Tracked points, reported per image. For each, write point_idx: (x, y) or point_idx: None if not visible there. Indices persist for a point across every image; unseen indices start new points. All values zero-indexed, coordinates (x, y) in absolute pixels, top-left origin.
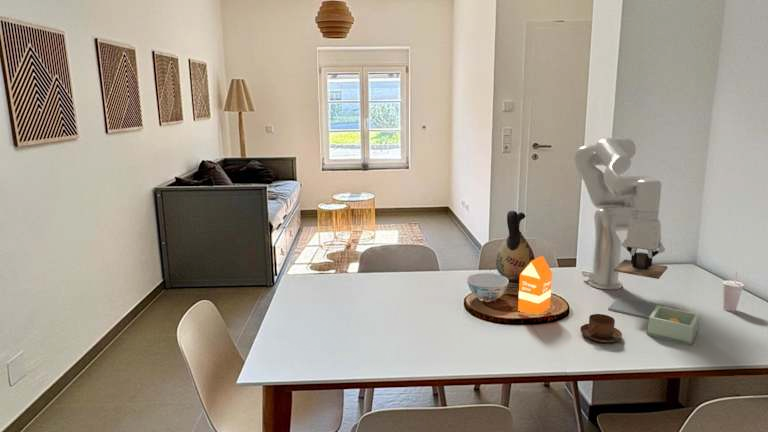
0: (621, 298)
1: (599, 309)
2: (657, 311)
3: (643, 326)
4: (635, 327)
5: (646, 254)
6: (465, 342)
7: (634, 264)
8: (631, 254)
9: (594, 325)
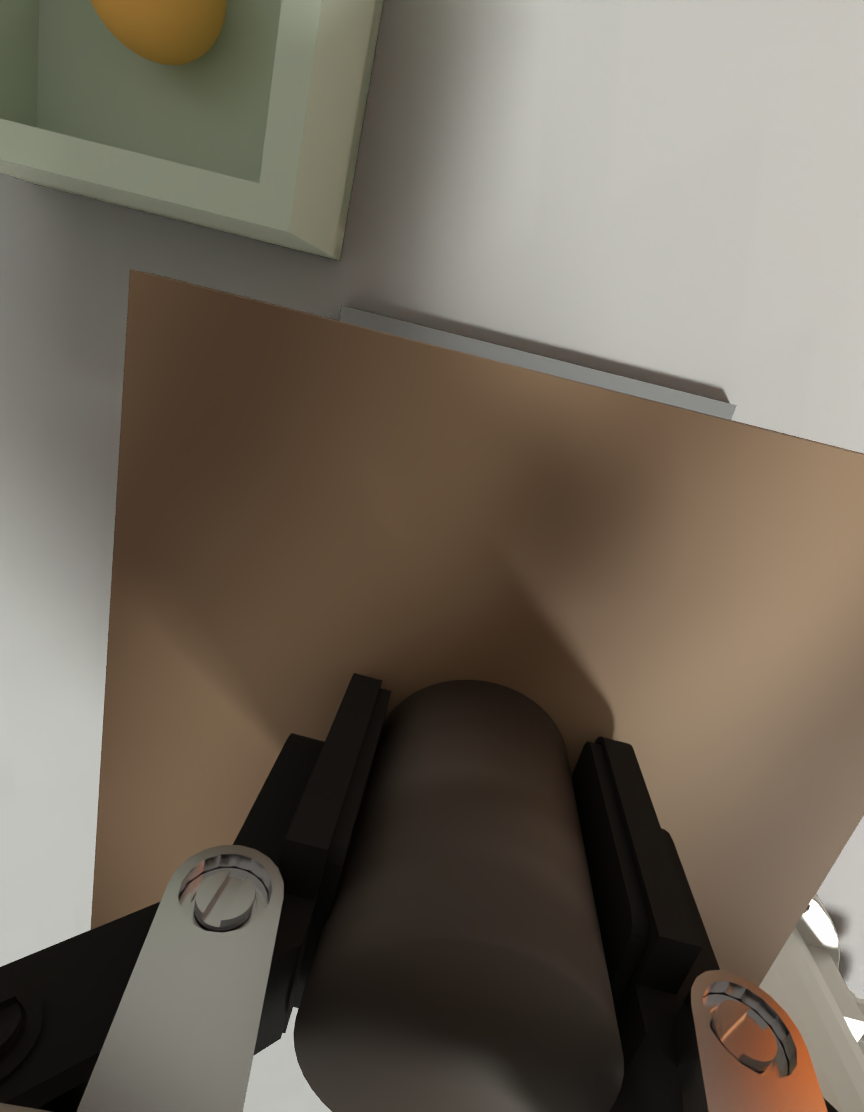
0: None
1: (811, 381)
2: (283, 11)
3: (439, 95)
4: (512, 24)
5: (335, 1022)
6: None
7: (601, 766)
8: (756, 1015)
9: None
